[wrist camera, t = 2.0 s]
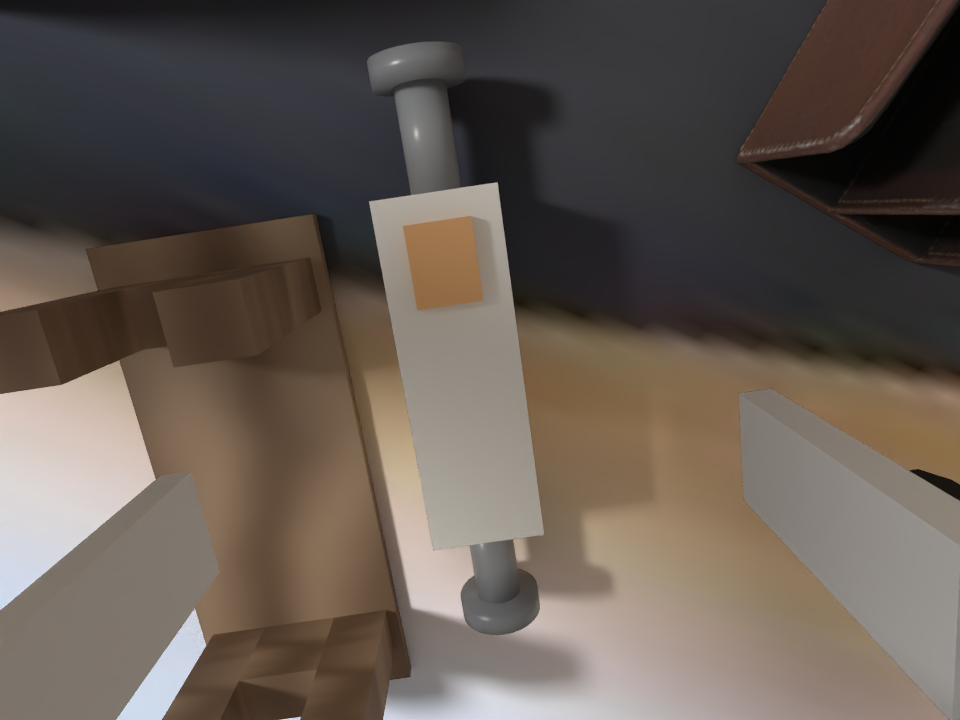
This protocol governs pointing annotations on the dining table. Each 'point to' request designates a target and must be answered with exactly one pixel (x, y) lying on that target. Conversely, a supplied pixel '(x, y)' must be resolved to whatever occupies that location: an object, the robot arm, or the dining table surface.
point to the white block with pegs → (457, 342)
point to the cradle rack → (244, 456)
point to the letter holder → (872, 124)
